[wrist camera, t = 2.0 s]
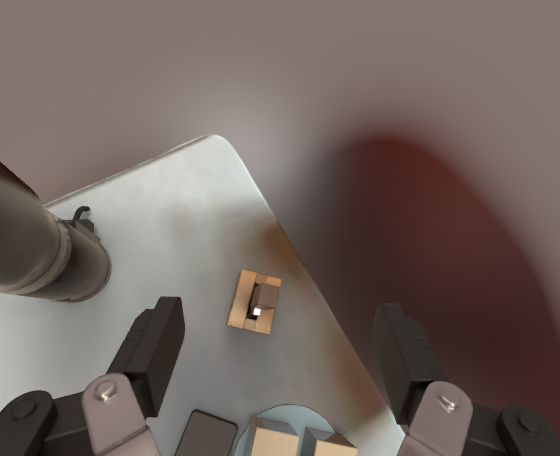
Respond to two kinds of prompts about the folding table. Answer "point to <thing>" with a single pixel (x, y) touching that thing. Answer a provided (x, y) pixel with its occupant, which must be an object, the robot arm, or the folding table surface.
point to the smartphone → (206, 436)
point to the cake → (292, 435)
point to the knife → (262, 299)
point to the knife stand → (242, 302)
